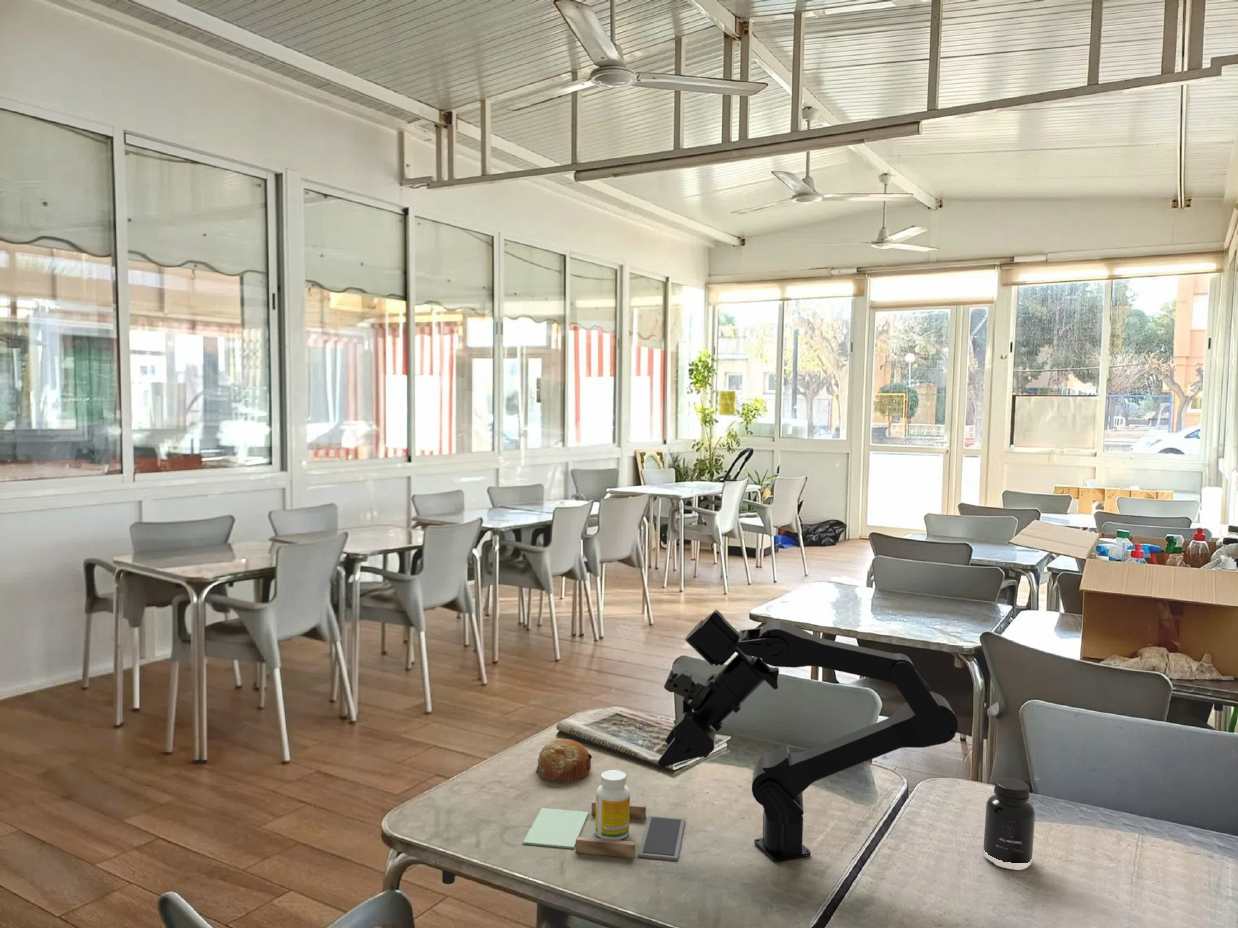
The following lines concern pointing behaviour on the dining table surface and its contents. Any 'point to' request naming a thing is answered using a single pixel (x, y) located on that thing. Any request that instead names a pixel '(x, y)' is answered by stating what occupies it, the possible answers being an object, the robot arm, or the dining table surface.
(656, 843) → the pit rectangle
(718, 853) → the dining table surface
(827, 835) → the dining table surface
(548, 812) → the pad
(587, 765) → the bread roll
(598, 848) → the walnut channel
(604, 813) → the supplement bottle
